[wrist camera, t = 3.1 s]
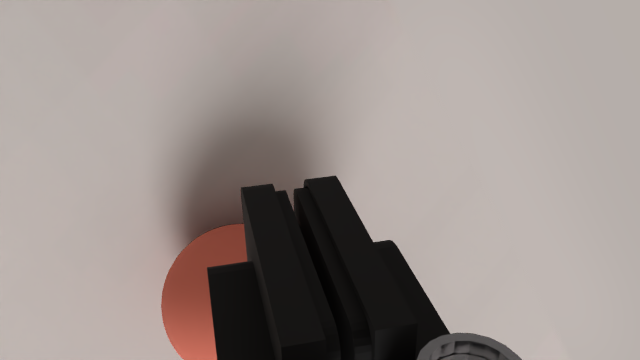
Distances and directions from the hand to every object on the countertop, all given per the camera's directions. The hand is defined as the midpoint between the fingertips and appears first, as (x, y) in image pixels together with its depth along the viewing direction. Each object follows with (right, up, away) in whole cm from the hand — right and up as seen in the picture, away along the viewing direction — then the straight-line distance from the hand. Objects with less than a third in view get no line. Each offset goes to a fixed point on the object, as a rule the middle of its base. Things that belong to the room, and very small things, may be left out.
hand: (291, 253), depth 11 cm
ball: (-3, -3, +13) cm, 13 cm away
